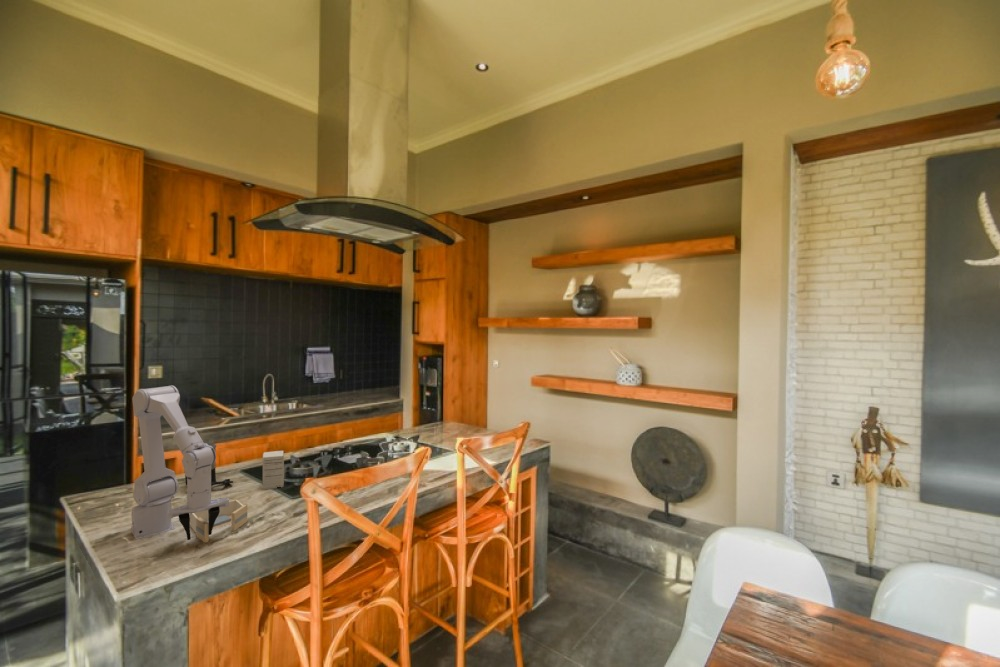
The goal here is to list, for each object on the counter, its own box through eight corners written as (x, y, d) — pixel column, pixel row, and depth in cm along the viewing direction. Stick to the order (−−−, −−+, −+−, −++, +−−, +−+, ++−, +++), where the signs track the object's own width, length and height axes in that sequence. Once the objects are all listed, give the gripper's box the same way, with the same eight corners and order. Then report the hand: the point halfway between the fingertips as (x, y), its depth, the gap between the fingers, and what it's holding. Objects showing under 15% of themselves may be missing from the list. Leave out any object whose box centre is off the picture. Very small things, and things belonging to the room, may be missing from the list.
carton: (197, 536, 132) (197, 519, 132) (190, 527, 137) (190, 511, 137) (245, 521, 141) (245, 506, 141) (236, 514, 147) (236, 499, 147)
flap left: (195, 536, 131) (195, 518, 131) (199, 534, 132) (199, 516, 132) (204, 543, 127) (204, 524, 127) (208, 541, 128) (208, 523, 128)
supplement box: (263, 483, 174) (263, 452, 174) (284, 481, 177) (284, 450, 177) (262, 490, 168) (262, 457, 167) (283, 487, 171) (283, 455, 170)
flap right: (244, 521, 141) (245, 504, 141) (248, 521, 141) (248, 504, 141) (231, 530, 135) (231, 513, 134) (235, 531, 135) (235, 513, 134)
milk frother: (191, 481, 175) (191, 444, 174) (237, 477, 181) (237, 441, 180) (181, 495, 162) (181, 455, 161) (231, 489, 168) (231, 451, 167)
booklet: (210, 528, 136) (210, 525, 136) (203, 524, 138) (203, 521, 138) (231, 520, 141) (231, 518, 141) (224, 517, 143) (224, 514, 143)
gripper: (168, 500, 119) (168, 549, 120) (230, 488, 128) (230, 534, 129) (167, 492, 125) (167, 539, 125) (227, 481, 134) (227, 525, 134)
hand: (199, 536), depth 127 cm, fingers open, 4 cm apart
